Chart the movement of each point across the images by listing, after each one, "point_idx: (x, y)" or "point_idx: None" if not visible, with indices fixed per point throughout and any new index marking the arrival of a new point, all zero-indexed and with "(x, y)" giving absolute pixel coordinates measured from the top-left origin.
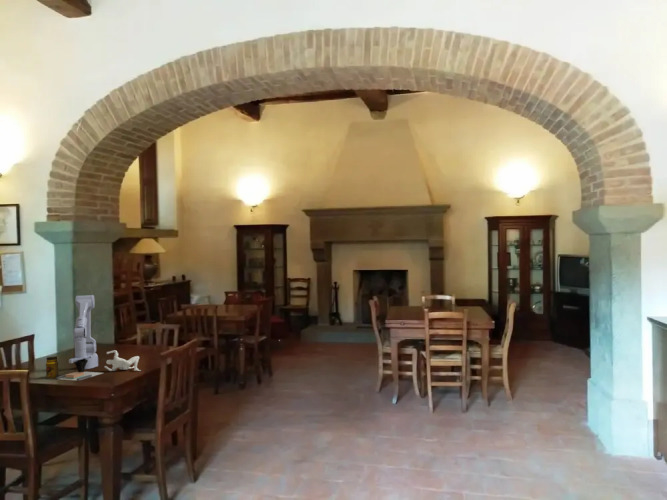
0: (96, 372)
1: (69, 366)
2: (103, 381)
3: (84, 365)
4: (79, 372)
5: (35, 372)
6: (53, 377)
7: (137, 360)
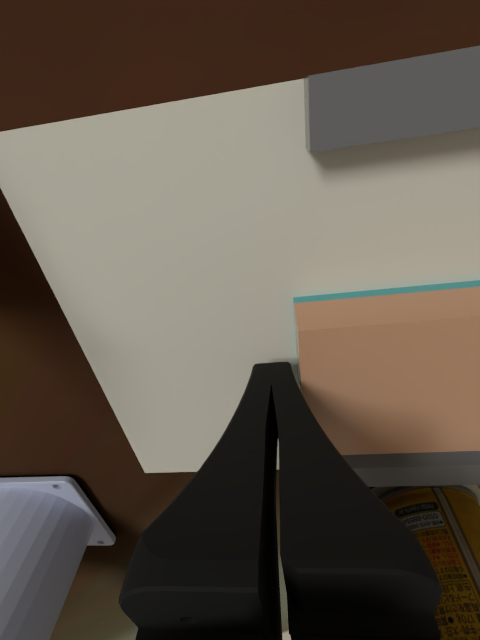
0: (63, 298)
1: (94, 602)
2: None
3: (242, 459)
4: (336, 380)
5: (282, 632)
6: (471, 506)
7: None
